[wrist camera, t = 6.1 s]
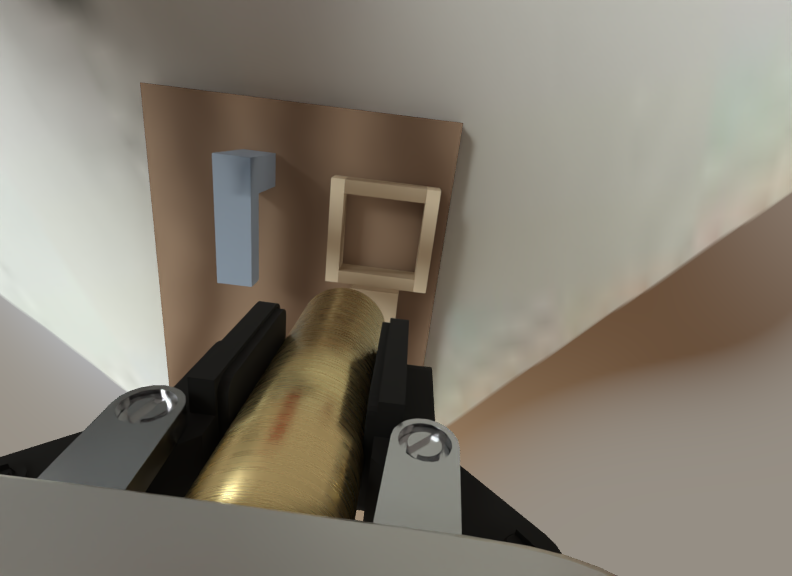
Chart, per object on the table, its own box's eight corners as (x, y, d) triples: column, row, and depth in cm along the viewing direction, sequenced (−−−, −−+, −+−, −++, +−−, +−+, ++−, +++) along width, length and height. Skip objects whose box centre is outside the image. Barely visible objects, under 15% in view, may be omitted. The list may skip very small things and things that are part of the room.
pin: (303, 282, 13) (110, 537, 5) (389, 293, 13) (343, 568, 5) (300, 357, 14) (134, 677, 6) (380, 368, 14) (328, 702, 6)
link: (335, 174, 25) (328, 179, 23) (439, 187, 25) (442, 193, 23) (320, 417, 32) (314, 436, 30) (403, 427, 32) (402, 447, 30)
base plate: (180, 384, 34) (170, 395, 32) (155, 84, 26) (140, 82, 24) (413, 413, 34) (413, 425, 32) (460, 123, 26) (463, 123, 24)
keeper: (244, 261, 28) (217, 282, 24) (243, 148, 25) (211, 153, 21) (274, 264, 28) (251, 286, 24) (275, 153, 25) (250, 157, 21)
